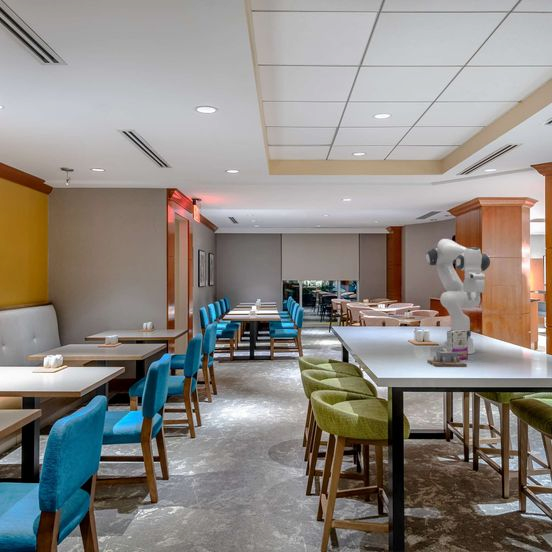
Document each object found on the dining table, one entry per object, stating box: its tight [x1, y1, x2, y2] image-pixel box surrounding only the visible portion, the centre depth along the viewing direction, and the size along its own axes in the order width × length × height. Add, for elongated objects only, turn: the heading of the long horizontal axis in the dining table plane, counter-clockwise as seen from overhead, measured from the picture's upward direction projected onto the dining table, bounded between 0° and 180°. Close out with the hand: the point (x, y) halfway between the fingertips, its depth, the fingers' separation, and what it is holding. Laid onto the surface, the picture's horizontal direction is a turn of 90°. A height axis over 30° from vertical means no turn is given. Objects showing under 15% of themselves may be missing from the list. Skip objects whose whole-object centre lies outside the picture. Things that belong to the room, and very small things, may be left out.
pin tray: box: [426, 355, 467, 368], centre depth 253 cm, size 14×16×4 cm
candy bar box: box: [446, 330, 469, 361], centre depth 271 cm, size 11×5×16 cm, turn 112°
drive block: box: [435, 351, 457, 363], centre depth 253 cm, size 5×9×5 cm, turn 91°
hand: (473, 300), depth 263 cm, fingers open, 8 cm apart
